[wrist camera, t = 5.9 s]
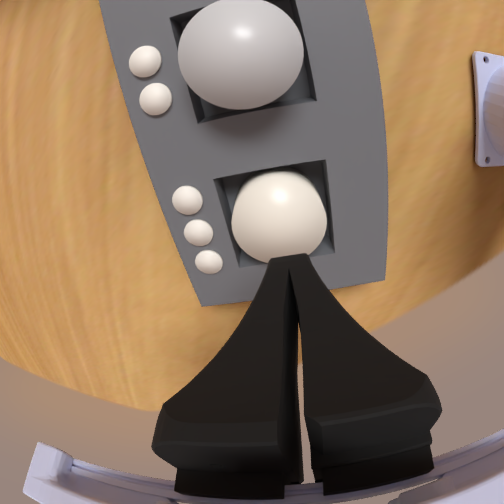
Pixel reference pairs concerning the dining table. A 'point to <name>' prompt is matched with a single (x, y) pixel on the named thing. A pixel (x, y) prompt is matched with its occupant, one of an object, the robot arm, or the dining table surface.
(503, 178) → the dining table surface
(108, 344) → the dining table surface
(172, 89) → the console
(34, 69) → the dining table surface
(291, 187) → the button three
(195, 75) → the button two
